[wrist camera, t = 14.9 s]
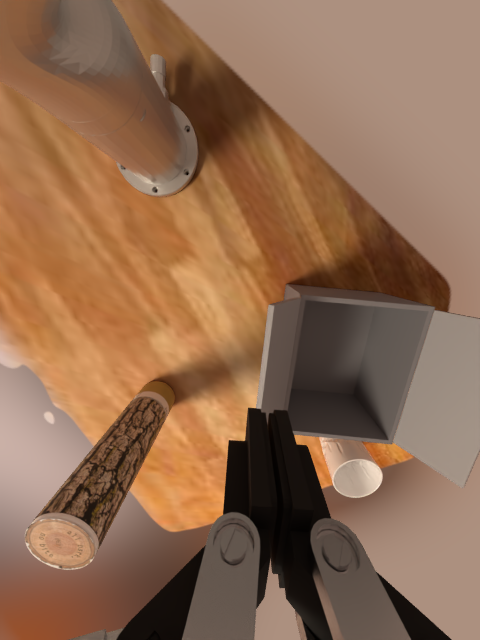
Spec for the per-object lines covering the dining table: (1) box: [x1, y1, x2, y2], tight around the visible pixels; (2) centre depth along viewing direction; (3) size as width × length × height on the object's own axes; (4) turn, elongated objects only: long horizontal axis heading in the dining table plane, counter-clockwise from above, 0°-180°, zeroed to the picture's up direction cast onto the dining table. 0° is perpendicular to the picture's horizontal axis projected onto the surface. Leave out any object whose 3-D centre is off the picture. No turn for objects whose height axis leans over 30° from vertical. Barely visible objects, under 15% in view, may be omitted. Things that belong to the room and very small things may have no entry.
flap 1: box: [256, 297, 301, 424], centre depth 27 cm, size 8×19×1 cm
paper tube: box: [25, 381, 175, 570], centre depth 34 cm, size 7×7×25 cm
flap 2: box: [393, 310, 480, 488], centre depth 27 cm, size 8×19×1 cm
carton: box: [284, 284, 435, 444], centre depth 36 cm, size 20×16×12 cm
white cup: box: [319, 437, 383, 498], centre depth 42 cm, size 8×8×10 cm
